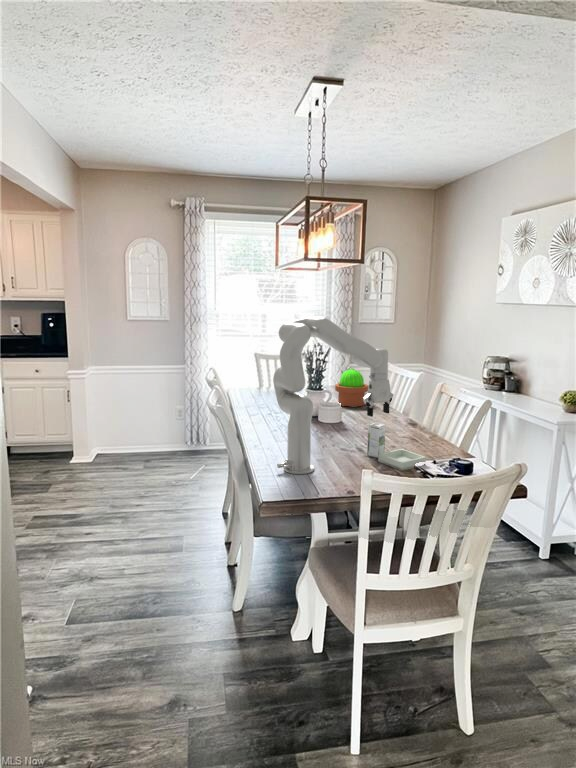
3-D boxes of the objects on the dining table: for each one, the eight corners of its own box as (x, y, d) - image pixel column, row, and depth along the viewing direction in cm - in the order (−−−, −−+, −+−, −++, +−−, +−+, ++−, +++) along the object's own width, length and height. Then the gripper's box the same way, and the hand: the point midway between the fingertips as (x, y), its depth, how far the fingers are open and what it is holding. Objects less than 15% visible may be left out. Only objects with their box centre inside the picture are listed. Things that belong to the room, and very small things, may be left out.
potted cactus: (363, 409, 309) (364, 371, 305) (331, 406, 317) (331, 369, 312) (370, 402, 329) (371, 367, 325) (339, 400, 337) (340, 365, 333)
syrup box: (373, 452, 220) (374, 421, 217) (384, 455, 216) (385, 424, 214) (366, 455, 215) (367, 424, 213) (378, 458, 212) (379, 426, 209)
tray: (402, 470, 196) (402, 462, 195) (378, 461, 207) (378, 453, 207) (425, 464, 203) (426, 457, 202) (401, 456, 215) (401, 448, 214)
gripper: (369, 379, 202) (369, 419, 205) (399, 375, 211) (398, 413, 214) (358, 377, 208) (357, 415, 211) (387, 373, 217) (386, 410, 220)
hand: (378, 414), depth 213 cm, fingers open, 9 cm apart
